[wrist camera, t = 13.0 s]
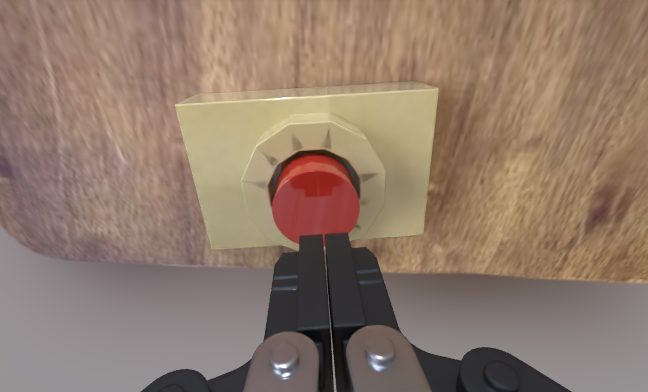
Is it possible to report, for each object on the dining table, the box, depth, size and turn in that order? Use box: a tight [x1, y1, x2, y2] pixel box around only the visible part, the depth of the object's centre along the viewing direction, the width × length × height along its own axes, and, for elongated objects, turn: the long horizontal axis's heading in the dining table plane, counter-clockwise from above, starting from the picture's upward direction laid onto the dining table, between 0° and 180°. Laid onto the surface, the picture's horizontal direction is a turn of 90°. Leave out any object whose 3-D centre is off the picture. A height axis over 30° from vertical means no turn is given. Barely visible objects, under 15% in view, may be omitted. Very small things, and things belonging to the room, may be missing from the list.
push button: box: [272, 154, 360, 246], centre depth 14 cm, size 4×4×2 cm
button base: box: [175, 81, 439, 251], centre depth 16 cm, size 12×8×5 cm, turn 93°
